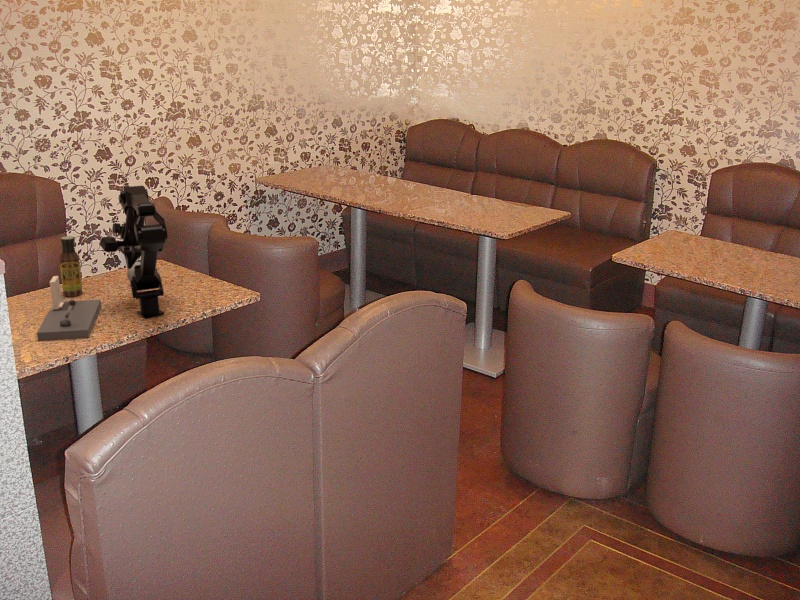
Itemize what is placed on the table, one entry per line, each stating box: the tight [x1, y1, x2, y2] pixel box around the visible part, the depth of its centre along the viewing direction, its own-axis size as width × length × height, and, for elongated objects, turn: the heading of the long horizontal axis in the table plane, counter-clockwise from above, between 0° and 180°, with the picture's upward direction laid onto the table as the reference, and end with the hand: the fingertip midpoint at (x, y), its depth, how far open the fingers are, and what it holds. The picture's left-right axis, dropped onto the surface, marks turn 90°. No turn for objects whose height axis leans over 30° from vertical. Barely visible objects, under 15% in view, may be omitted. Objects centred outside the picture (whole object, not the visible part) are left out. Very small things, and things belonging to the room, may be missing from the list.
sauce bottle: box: [59, 235, 83, 297], centre depth 264 cm, size 6×6×20 cm
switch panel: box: [36, 299, 102, 341], centre depth 243 cm, size 14×26×4 cm, turn 12°
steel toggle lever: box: [65, 299, 76, 318], centre depth 234 cm, size 2×2×6 cm
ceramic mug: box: [126, 261, 162, 282], centre depth 278 cm, size 11×8×8 cm
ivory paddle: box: [49, 275, 64, 310], centre depth 248 cm, size 3×6×9 cm, turn 12°
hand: (128, 268), depth 257 cm, fingers closed
